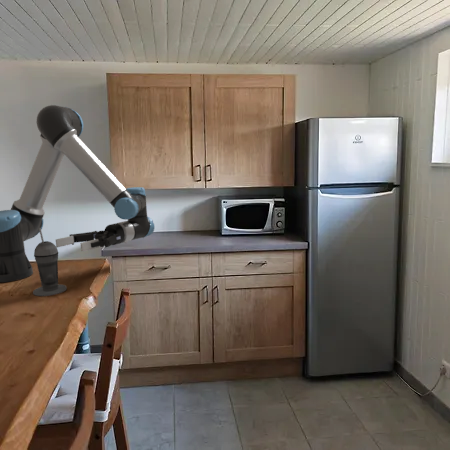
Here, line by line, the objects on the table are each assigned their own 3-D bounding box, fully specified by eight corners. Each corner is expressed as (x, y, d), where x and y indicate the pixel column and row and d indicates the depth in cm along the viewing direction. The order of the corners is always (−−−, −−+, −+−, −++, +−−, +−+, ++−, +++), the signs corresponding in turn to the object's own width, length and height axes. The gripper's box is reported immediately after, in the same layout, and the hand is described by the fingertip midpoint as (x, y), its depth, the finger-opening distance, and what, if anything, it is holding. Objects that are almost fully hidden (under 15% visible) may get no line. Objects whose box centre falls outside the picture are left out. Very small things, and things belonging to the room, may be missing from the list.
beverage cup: (54, 293, 141) (47, 229, 137) (33, 292, 142) (25, 230, 139) (67, 285, 148) (60, 225, 144) (46, 285, 149) (39, 225, 146)
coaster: (26, 293, 144) (26, 291, 144) (54, 284, 152) (54, 282, 152) (45, 298, 138) (44, 296, 138) (73, 288, 146) (72, 287, 146)
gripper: (143, 246, 159) (94, 260, 143) (97, 240, 174) (48, 252, 157) (141, 225, 158) (91, 237, 141) (95, 221, 173) (45, 231, 156)
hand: (68, 245), depth 149 cm, fingers open, 13 cm apart
